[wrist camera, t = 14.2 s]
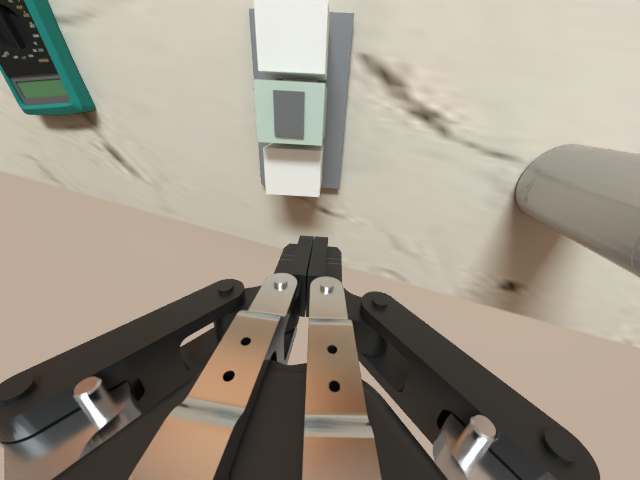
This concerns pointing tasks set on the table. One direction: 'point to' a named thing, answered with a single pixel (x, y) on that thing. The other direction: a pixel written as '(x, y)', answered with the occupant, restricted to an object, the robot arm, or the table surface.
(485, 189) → the table surface
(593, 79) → the table surface
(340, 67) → the rail panel
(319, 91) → the block
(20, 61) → the digital multimeter
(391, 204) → the table surface
